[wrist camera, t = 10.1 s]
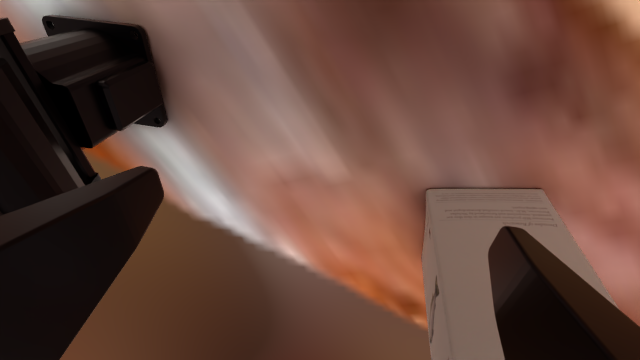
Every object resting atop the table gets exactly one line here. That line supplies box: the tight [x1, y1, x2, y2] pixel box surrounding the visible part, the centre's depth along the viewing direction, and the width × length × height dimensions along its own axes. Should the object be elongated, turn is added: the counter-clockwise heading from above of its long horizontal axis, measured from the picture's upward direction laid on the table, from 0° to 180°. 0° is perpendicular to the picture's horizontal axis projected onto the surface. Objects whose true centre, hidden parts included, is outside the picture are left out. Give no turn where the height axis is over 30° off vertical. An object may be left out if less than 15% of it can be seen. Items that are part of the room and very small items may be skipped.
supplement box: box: [421, 189, 619, 360], centre depth 18 cm, size 7×7×13 cm
